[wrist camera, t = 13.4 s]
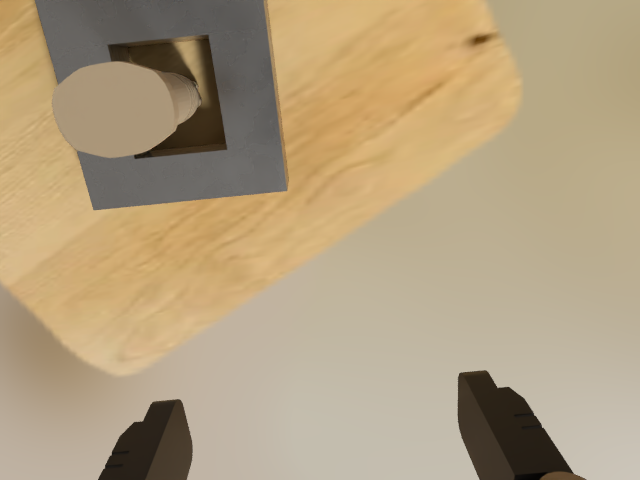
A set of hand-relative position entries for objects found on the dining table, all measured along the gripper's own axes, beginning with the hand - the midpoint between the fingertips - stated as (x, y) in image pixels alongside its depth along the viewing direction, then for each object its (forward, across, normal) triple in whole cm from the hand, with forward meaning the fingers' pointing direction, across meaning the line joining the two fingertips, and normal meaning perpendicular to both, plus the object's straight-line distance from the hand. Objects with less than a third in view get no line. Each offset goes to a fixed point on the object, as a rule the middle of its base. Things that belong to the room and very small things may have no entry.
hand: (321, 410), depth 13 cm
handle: (+30, +10, -8) cm, 33 cm away
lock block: (+30, +10, -8) cm, 33 cm away
